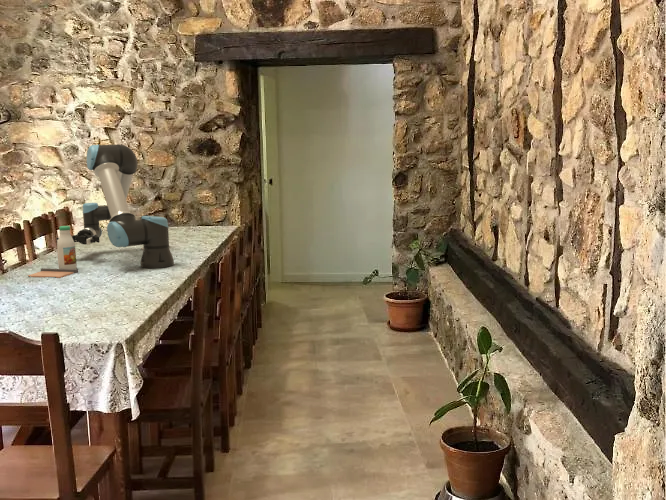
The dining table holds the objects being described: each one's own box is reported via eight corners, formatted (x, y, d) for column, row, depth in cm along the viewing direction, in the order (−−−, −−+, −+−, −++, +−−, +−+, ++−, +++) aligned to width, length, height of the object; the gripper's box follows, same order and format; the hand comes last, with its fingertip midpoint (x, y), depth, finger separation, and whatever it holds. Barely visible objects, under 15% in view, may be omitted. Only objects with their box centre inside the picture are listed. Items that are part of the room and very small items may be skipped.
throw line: (78, 272, 305) (78, 269, 305) (76, 273, 304) (76, 269, 304) (42, 271, 309) (42, 268, 309) (40, 272, 308) (40, 268, 308)
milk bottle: (57, 271, 308) (54, 227, 305) (59, 268, 316) (56, 225, 312) (76, 270, 310) (72, 226, 307) (77, 267, 318) (74, 224, 314)
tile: (73, 273, 303) (73, 272, 303) (60, 277, 294) (60, 276, 294) (41, 272, 307) (41, 271, 307) (27, 276, 297) (27, 275, 297)
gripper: (112, 243, 343) (100, 249, 322) (61, 244, 341) (46, 251, 321) (111, 228, 341) (99, 234, 321) (60, 229, 340) (45, 235, 319)
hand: (72, 242), depth 321 cm, fingers open, 13 cm apart
